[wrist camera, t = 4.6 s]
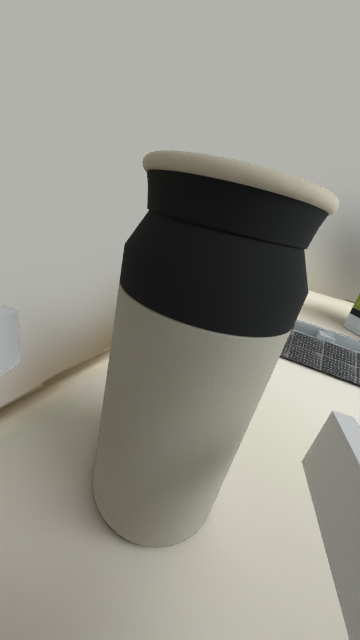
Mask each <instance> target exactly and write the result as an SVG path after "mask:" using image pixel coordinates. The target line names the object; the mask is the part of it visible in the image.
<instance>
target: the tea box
mask: <svg viewBox="0 0 360 640" xmlns="http://www.w3.org/2000/svg"><path fill="white" fill-rule="evenodd" d="M344 328H346V329H348V330H350V331H351V332H353V333H355V334H357V335H358V336H360V294H359V296H358V298H357V300H356V302H355V304H354V306H353V308H352V310H351V312H350V314H349V315H348V317H347V319H346V322H345V324H344Z"/></svg>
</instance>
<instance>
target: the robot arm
mask: <svg viewBox="0 0 360 640" xmlns="http://www.w3.org/2000/svg"><path fill="white" fill-rule="evenodd" d="M19 364H20V341H19V310H16V309H13V308H10V307H6V306H4V305H3V306H0V376H2V375H3V374H5V373H6V372H8V371H10V370H11V369H13V368H14V367H16V366H17V365H19ZM302 463H303V467H304V471H305V475H306V478H307V482H308V486H309V490H310V493H311V497H312V501H313V505H314V508H315V512H316V516H317V520H318V523H319V527H320V531H321V535H322V538H323V542H324V546H325V550H326V553H327V557H328V561H329V565H330V568H331V572H332V576H333V580H334V583H335V587H336V591H337V595H338V598H339V602H340V606H341V610H342V613H343V617H344V621H345V625H346V628H347V632H348V636H349V640H360V427H359V425H358V423H357V422H356V420H355V418H354V417H351V416H348V415H345V414H342V413H339V412H335V411H332V412H331V414H330V416H329V417H328V419H327V421H326V422H325V424H324V426H323V427H322V429H321V431H320V432H319V434H318V436H317V437H316V439H315V441H314V442H313V444H312V445H311V447H310V449H309V450H308V452H307V454H306V455H305V457H304V459H303V460H302Z"/></svg>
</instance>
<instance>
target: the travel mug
mask: <svg viewBox="0 0 360 640" xmlns="http://www.w3.org/2000/svg"><path fill="white" fill-rule="evenodd" d="M143 167H144V169H145V171H146V172H147V178H148V206H147V209H149V211H148V213H147V214H146V215H145V217H144V218H143V220H142V221H141V222H140V224H139V225H138V226H137V228H136V229H135V231H134V232H133V234H132V235H131V236H130V238H129V239H128V240H127V242H126V243H125V246H124V253H123V261H122V268H121V276H120V283H119V290H118V297H117V305H116V312H115V320H114V327H113V334H112V342H111V349H110V356H109V364H108V371H107V378H106V386H105V393H104V400H103V408H102V415H101V423H100V430H99V437H98V445H97V452H96V459H95V467H94V474H93V492H94V498H95V501H96V504H97V507H98V509H99V511H100V513H101V515H102V517H103V518H104V520H105V521H106V523H107V524H108V525H109V526H110V527H111V528H112V529H113V530H114V531H115V532H116V533H117V534H119V535H120V536H121V537H123V538H125V539H126V540H128V541H130V542H133V543H135V544H138V545H142V546H147V547H167V546H172V545H175V544H178V543H180V542H182V541H184V540H186V539H188V538H189V537H191V536H192V535H193V534H194V533H196V532H197V530H198V529H199V528H200V527H201V526H202V525H203V523H204V522H205V520H206V518H207V517H208V514H209V512H210V510H211V508H212V506H213V503H214V501H215V499H216V497H217V494H218V492H219V490H220V488H221V486H222V483H223V481H224V479H225V477H226V474H227V472H228V470H229V468H230V466H231V463H232V461H233V459H234V457H235V454H236V452H237V450H238V448H239V445H240V443H241V441H242V439H243V437H244V434H245V432H246V430H247V428H248V425H249V423H250V421H251V419H252V417H253V414H254V412H255V410H256V408H257V405H258V403H259V401H260V399H261V397H262V394H263V392H264V390H265V388H266V385H267V383H268V381H269V379H270V377H271V374H272V372H273V370H274V368H275V365H276V363H277V361H278V359H279V357H280V354H281V352H282V350H283V348H284V345H285V343H286V341H287V339H288V337H289V334H290V332H291V330H292V328H293V325H294V323H295V321H296V319H297V317H298V314H299V312H300V310H301V308H302V305H303V303H304V301H305V299H306V297H307V294H308V285H307V275H306V264H305V254H304V249H307V247H308V246H309V244H310V242H311V241H312V239H313V237H314V235H315V234H316V232H317V230H318V228H319V227H320V226H321V224H322V223H323V222H324V220H325V219H326V217H327V216H329V215H332V214H333V213H335V211H337V209H338V207H339V200H338V199H337V197H336V196H335V195H334V194H333V193H331V192H330V191H328V190H327V189H325V188H323V187H321V186H319V185H317V184H314V183H312V182H310V181H307V180H304V179H302V178H299V177H296V176H293V175H290V174H287V173H284V172H281V171H277V170H274V169H270V168H266V167H263V166H259V165H255V164H251V163H247V162H243V161H238V160H234V159H229V158H224V157H218V156H213V155H207V154H200V153H193V152H183V151H155V152H151V153H149V154H147V155H146V156H145V157H144V159H143Z"/></svg>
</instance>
